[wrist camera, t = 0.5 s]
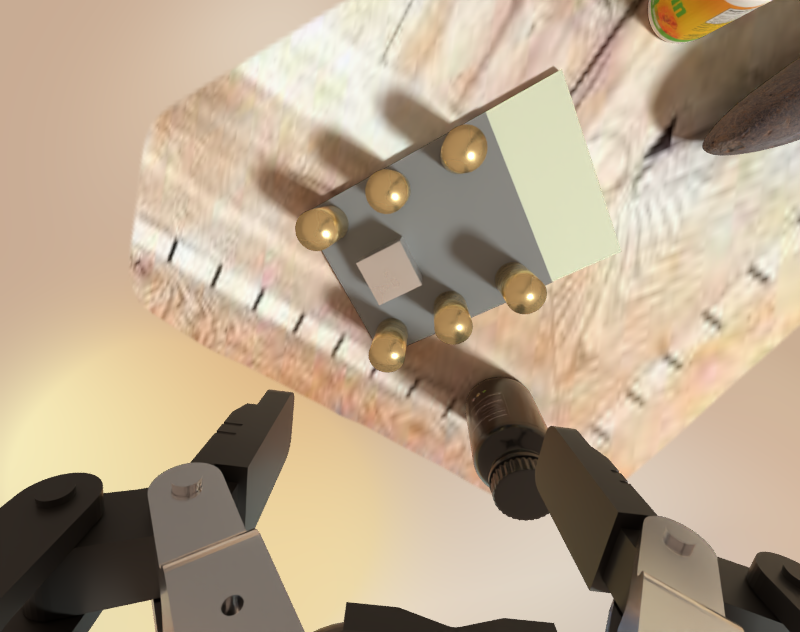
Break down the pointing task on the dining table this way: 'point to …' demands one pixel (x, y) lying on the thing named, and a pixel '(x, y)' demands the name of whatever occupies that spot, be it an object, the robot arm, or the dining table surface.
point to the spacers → (450, 309)
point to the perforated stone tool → (761, 117)
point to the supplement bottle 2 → (695, 17)
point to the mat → (484, 213)
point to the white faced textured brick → (390, 271)
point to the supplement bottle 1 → (507, 444)
